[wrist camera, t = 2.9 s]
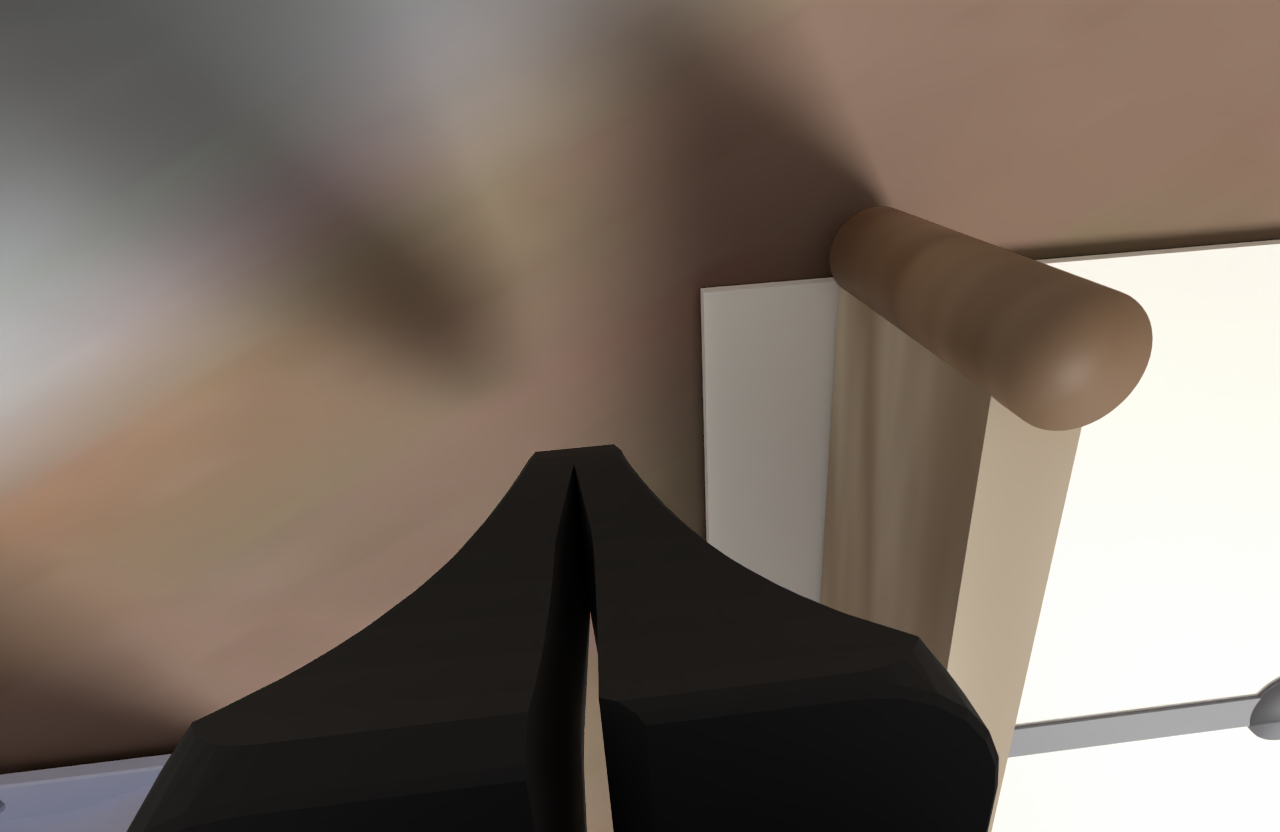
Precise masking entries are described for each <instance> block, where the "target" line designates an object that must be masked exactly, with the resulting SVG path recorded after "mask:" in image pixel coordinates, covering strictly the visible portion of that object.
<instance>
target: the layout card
mask: <svg viewBox="0 0 1280 832" xmlns="http://www.w3.org/2000/svg"><path fill="white" fill-rule="evenodd" d="M1036 261H1039V262H1041V263H1044V264H1047V265H1050V266H1052V267H1055V268H1058V269H1060V270H1063V271H1066V272H1069V273H1071V274H1074V275H1077V276H1079V277H1082V278H1085V279H1088V280H1090V281H1093V282H1096V283H1099V284H1101V285H1104V286H1107V287H1109V288H1112V289H1115V290H1118V291H1120V292H1123V293H1125V294H1127V295H1129V296H1131V297H1132V298H1133V299H1135V300H1136V301H1137V302H1138V303H1139V304H1140V305H1141V306H1142V307H1143V309H1144V310H1145V312H1146V313H1147V315H1148V318H1149V320H1150V323H1151V327H1152V336H1153V341H1152V350H1151V356H1150V359H1149V362H1148V365H1147V367H1146V370H1145V372H1144V374H1143V376H1142V378H1141V379H1140V381H1139V383H1138V384H1137V386H1136V387H1135V388H1134V390H1133V391H1132V392H1131V393H1130V395H1129V396H1128V397H1127V398H1126V399H1125V400H1124V401H1123V402H1122V403H1121V404H1120V405H1119V406H1118V407H1116V408H1115V409H1114V410H1113V411H1111V412H1110V413H1109V414H1107V415H1105V416H1104V417H1102V418H1101V419H1099V420H1097V421H1095V422H1093V423H1091V424H1088V425H1085V426H1083V427H1082V428H1081V433H1080V437H1079V442H1078V446H1077V451H1076V455H1075V460H1074V464H1073V469H1072V473H1071V478H1070V482H1069V487H1068V491H1067V496H1066V500H1065V504H1064V509H1063V513H1062V518H1061V522H1060V527H1059V531H1058V536H1057V540H1056V545H1055V549H1054V554H1053V558H1052V563H1051V567H1050V572H1049V576H1048V581H1047V585H1046V590H1045V594H1044V599H1043V603H1042V607H1041V612H1040V616H1039V621H1038V625H1037V630H1036V634H1035V639H1034V643H1033V648H1032V652H1031V657H1030V661H1029V666H1028V670H1027V675H1026V679H1025V684H1024V688H1023V693H1022V697H1021V702H1020V706H1019V710H1018V715H1017V719H1016V724H1015V728H1014V733H1013V737H1012V742H1011V746H1010V751H1009V755H1008V760H1007V764H1006V769H1005V773H1004V778H1003V782H1002V787H1001V791H1000V796H999V800H998V805H997V809H996V813H995V818H994V822H993V827H992V831H991V832H1280V239H1279V240H1268V241H1256V242H1244V243H1232V244H1220V245H1208V246H1196V247H1185V248H1173V249H1161V250H1149V251H1137V252H1125V253H1114V254H1102V255H1090V256H1078V257H1066V258H1054V259H1042V260H1036ZM700 289H701V331H702V373H703V415H704V457H705V499H706V541H707V542H708V543H709V544H710V545H712V546H713V547H715V548H716V549H718V550H719V551H721V552H722V553H723V554H725V555H726V556H728V557H729V558H731V559H733V560H734V561H736V562H738V563H739V564H741V565H742V566H744V567H746V568H748V569H750V570H751V571H753V572H755V573H757V574H759V575H761V576H762V577H764V578H766V579H768V580H770V581H772V582H774V583H775V584H777V585H780V586H782V587H784V588H786V589H788V590H790V591H792V592H794V593H797V594H799V595H801V596H803V597H806V598H808V599H811V600H813V601H816V602H818V603H820V598H821V581H822V564H823V547H824V531H825V514H826V497H827V480H828V463H829V446H830V429H831V412H832V395H833V378H834V361H835V344H836V327H837V310H838V294H839V285H838V284H837V283H836V281H835V280H834V277H829V278H817V279H806V280H794V281H782V282H770V283H758V284H746V285H734V286H723V287H711V288H700Z"/></svg>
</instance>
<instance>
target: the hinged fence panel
mask: <svg viewBox="0 0 1280 832" xmlns="http://www.w3.org/2000/svg"><path fill="white" fill-rule="evenodd" d="M830 269H831V272H832V275H833V277H834V280H835V281H836V283H837V284H838V285H839V294H838V310H837V327H836V344H835V361H834V378H833V395H832V412H831V429H830V446H829V463H828V480H827V497H826V514H825V531H824V547H823V564H822V581H821V598H820V604H823V605H825V606H828V607H830V608H833V609H835V610H838V611H840V612H843V613H846V614H849V615H852V616H855V617H858V618H861V619H865V620H868V621H871V622H874V623H877V624H881V625H884V626H887V627H890V628H893V629H897V630H900V631H903V632H906V633H909V634H913V635H916V636H919V638H920V639H921V640H922V641H923V642H924V644H925V645H926V646H927V648H928V649H929V650H930V651H931V653H932V654H933V655H934V656H935V657H936V658H937V660H938V661H939V662H940V663H941V664H942V665H943V666H944V668H945V669H946V670H947V671H948V672H949V674H950V675H951V676H952V678H953V679H954V680H955V682H956V683H957V684H958V686H959V687H960V688H961V690H962V691H963V692H964V694H965V695H966V697H967V698H968V700H969V701H970V703H971V704H972V706H973V707H974V709H975V710H976V712H977V713H978V715H979V716H980V718H981V719H982V721H983V722H984V724H985V725H986V727H987V728H988V730H989V732H990V734H991V737H992V740H993V742H994V745H995V748H996V750H997V753H998V756H999V774H998V788H997V792H996V797H995V801H994V806H993V810H992V815H991V819H990V824H989V828H988V832H991V831H992V827H993V822H994V818H995V813H996V809H997V805H998V800H999V796H1000V791H1001V787H1002V782H1003V778H1004V773H1005V769H1006V764H1007V760H1008V755H1009V751H1010V746H1011V742H1012V737H1013V733H1014V728H1015V724H1016V719H1017V715H1018V710H1019V706H1020V702H1021V697H1022V693H1023V688H1024V684H1025V679H1026V675H1027V670H1028V666H1029V661H1030V657H1031V652H1032V648H1033V643H1034V639H1035V634H1036V630H1037V625H1038V621H1039V616H1040V612H1041V607H1042V603H1043V599H1044V594H1045V590H1046V585H1047V581H1048V576H1049V572H1050V567H1051V563H1052V558H1053V554H1054V549H1055V545H1056V540H1057V536H1058V531H1059V527H1060V522H1061V518H1062V513H1063V509H1064V504H1065V500H1066V496H1067V491H1068V487H1069V482H1070V478H1071V473H1072V469H1073V464H1074V460H1075V455H1076V451H1077V446H1078V442H1079V437H1080V433H1081V428H1082V427H1083V426H1085V425H1088V424H1091V423H1093V422H1095V421H1097V420H1099V419H1101V418H1102V417H1104V416H1105V415H1107V414H1109V413H1110V412H1111V411H1113V410H1114V409H1115V408H1116V407H1118V406H1119V405H1120V404H1121V403H1122V402H1123V401H1124V400H1125V399H1126V398H1127V397H1128V396H1129V395H1130V393H1131V392H1132V391H1133V390H1134V388H1135V387H1136V386H1137V384H1138V383H1139V381H1140V379H1141V378H1142V376H1143V374H1144V372H1145V370H1146V367H1147V365H1148V362H1149V359H1150V356H1151V350H1152V341H1153V336H1152V327H1151V323H1150V320H1149V318H1148V315H1147V313H1146V312H1145V310H1144V309H1143V307H1142V306H1141V305H1140V304H1139V303H1138V302H1137V301H1136V300H1135V299H1133V298H1132V297H1131V296H1129V295H1127V294H1125V293H1123V292H1120V291H1118V290H1115V289H1112V288H1109V287H1107V286H1104V285H1101V284H1099V283H1096V282H1093V281H1090V280H1088V279H1085V278H1082V277H1079V276H1077V275H1074V274H1071V273H1069V272H1066V271H1063V270H1060V269H1058V268H1055V267H1052V266H1050V265H1047V264H1044V263H1041V262H1039V261H1036V260H1033V259H1031V258H1028V257H1025V256H1022V255H1020V254H1017V253H1014V252H1011V251H1009V250H1006V249H1003V248H1001V247H998V246H995V245H992V244H990V243H987V242H984V241H982V240H979V239H976V238H973V237H971V236H968V235H965V234H962V233H960V232H957V231H954V230H952V229H949V228H946V227H943V226H941V225H938V224H935V223H933V222H930V221H927V220H924V219H922V218H919V217H916V216H914V215H911V214H908V213H905V212H903V211H900V210H897V209H894V208H891V207H885V206H877V207H871V208H867V209H865V210H862V211H860V212H858V213H856V214H855V215H853V216H852V217H851V218H849V219H848V220H847V221H846V222H845V223H844V224H843V225H842V227H841V228H840V229H839V231H838V232H837V234H836V236H835V238H834V240H833V243H832V246H831V250H830Z"/></svg>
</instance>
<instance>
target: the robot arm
mask: <svg viewBox="0 0 1280 832" xmlns="http://www.w3.org/2000/svg"><path fill="white" fill-rule="evenodd" d="M590 612H591V618H592V624H593V629H594V635H595V641H596V646H597V652H598V672H599V703H600V712H601V721H602V730H603V739H604V748H605V757H606V766H607V775H608V784H609V793H610V802H611V811H612V820H613V829H614V832H988V828H989V824H990V819H991V815H992V810H993V806H994V801H995V797H996V792H997V788H998V774H999V756H998V753H997V750H996V748H995V745H994V742H993V740H992V737H991V734H990V732H989V730H988V728H987V727H986V725H985V724H984V722H983V721H982V719H981V718H980V716H979V715H978V713H977V712H976V710H975V709H974V707H973V706H972V704H971V703H970V701H969V700H968V698H967V697H966V695H965V694H964V692H963V691H962V690H961V688H960V687H959V686H958V684H957V683H956V682H955V680H954V679H953V678H952V676H951V675H950V674H949V672H948V671H947V670H946V669H945V668H944V666H943V665H942V664H941V663H940V662H939V661H938V660H937V658H936V657H935V656H934V655H933V654H932V653H931V651H930V650H929V649H928V648H927V646H926V645H925V644H924V642H923V641H922V640H921V639H920V638H919V636H916V635H913V634H909V633H906V632H903V631H900V630H897V629H893V628H890V627H887V626H884V625H881V624H877V623H874V622H871V621H868V620H865V619H861V618H858V617H855V616H852V615H849V614H846V613H843V612H840V611H838V610H835V609H833V608H830V607H828V606H825V605H823V604H820V603H818V602H816V601H813V600H811V599H808V598H806V597H803V596H801V595H799V594H797V593H794V592H792V591H790V590H788V589H786V588H784V587H782V586H780V585H777V584H775V583H774V582H772V581H770V580H768V579H766V578H764V577H762V576H761V575H759V574H757V573H755V572H753V571H751V570H750V569H748V568H746V567H744V566H742V565H741V564H739V563H738V562H736V561H734V560H733V559H731V558H729V557H728V556H726V555H725V554H723V553H722V552H721V551H719V550H718V549H716V548H715V547H713V546H712V545H710V544H709V543H708V542H706V541H705V540H703V539H702V538H701V537H700V536H699V535H697V534H696V533H695V532H694V531H692V530H691V529H690V528H689V527H688V526H687V525H686V524H685V523H683V522H682V521H681V520H680V519H679V518H678V517H677V516H676V515H675V514H674V513H673V512H672V511H671V510H669V509H668V508H667V507H666V506H665V505H664V504H663V502H662V501H661V500H660V499H659V498H658V497H657V496H656V495H655V494H654V493H653V492H652V491H651V490H650V489H649V488H648V486H647V485H646V484H645V483H644V482H643V481H642V479H641V478H640V477H639V476H638V474H637V473H636V472H635V471H634V469H633V468H632V467H631V465H630V464H629V463H628V461H627V460H626V458H625V456H624V455H623V453H622V451H621V450H620V449H619V448H618V447H616V446H615V445H614V444H613V445H603V446H593V447H582V448H572V449H562V450H551V451H541V452H535V453H534V455H533V456H532V457H531V458H530V459H529V460H528V462H527V464H526V465H525V467H524V468H523V470H522V471H521V473H520V475H519V476H518V478H517V479H516V481H515V482H514V483H513V485H512V486H511V488H510V489H509V491H508V492H507V493H506V495H505V496H504V497H503V499H502V500H501V501H500V503H499V504H498V505H497V507H496V508H495V509H494V511H493V512H492V513H491V514H490V516H489V517H488V518H487V520H486V521H485V522H484V523H483V524H482V526H481V527H480V528H479V529H478V530H477V531H476V532H475V533H474V535H473V536H472V537H471V538H470V539H469V540H468V541H467V543H466V544H465V545H464V546H463V547H462V548H461V549H460V550H459V552H458V553H457V554H456V555H455V556H454V557H453V558H452V559H451V560H450V561H449V562H448V563H447V564H445V565H444V566H443V567H442V568H441V569H440V570H439V571H438V572H437V573H435V574H434V575H433V576H432V577H431V578H430V579H429V580H428V581H426V582H425V583H424V584H423V585H422V586H421V587H419V588H418V589H417V590H416V591H415V592H413V593H412V594H411V595H409V596H408V597H407V598H405V599H404V600H403V601H401V602H400V603H399V604H397V605H396V606H394V607H393V608H392V609H390V610H389V611H388V612H386V613H385V614H384V615H382V616H381V617H380V618H378V619H377V620H376V621H374V622H373V623H372V624H370V625H369V626H368V627H366V628H365V629H363V630H362V631H360V632H359V633H357V634H356V635H354V636H352V637H351V638H349V639H348V640H346V641H345V642H343V643H341V644H340V645H338V646H337V647H335V648H334V649H332V650H330V651H329V652H327V653H325V654H324V655H322V656H320V657H318V658H317V659H315V660H313V661H312V662H310V663H308V664H307V665H305V666H303V667H301V668H300V669H298V670H296V671H294V672H292V673H291V674H289V675H287V676H285V677H283V678H282V679H280V680H278V681H276V682H274V683H272V684H270V685H268V686H266V687H264V688H262V689H260V690H258V691H256V692H254V693H252V694H250V695H248V696H246V697H244V698H242V699H240V700H238V701H236V702H234V703H232V704H230V705H228V706H226V707H224V708H222V709H220V710H218V711H216V712H214V713H212V714H209V715H207V716H205V717H203V718H201V719H199V720H196V721H194V722H192V724H191V725H190V727H189V728H188V730H187V731H186V733H185V734H184V736H183V737H182V739H181V740H180V742H179V743H178V745H177V746H176V748H175V750H174V751H173V753H172V754H166V755H158V756H150V757H142V758H133V759H125V760H117V761H109V762H100V763H92V764H84V765H76V766H67V767H59V768H51V769H42V770H34V771H26V772H18V773H9V774H1V775H0V832H587V825H586V804H585V782H584V726H585V706H586V687H587V667H588V647H589V627H590Z"/></svg>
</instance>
